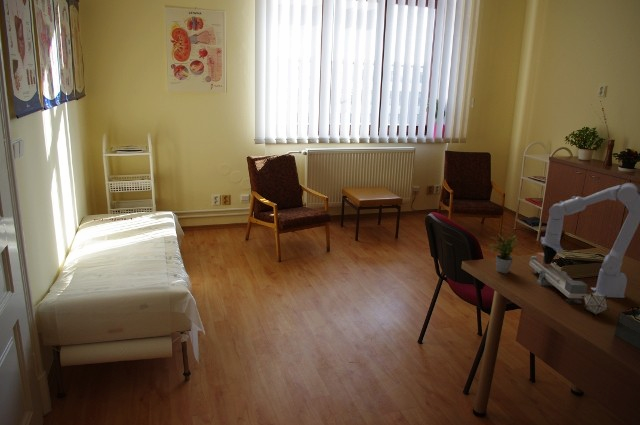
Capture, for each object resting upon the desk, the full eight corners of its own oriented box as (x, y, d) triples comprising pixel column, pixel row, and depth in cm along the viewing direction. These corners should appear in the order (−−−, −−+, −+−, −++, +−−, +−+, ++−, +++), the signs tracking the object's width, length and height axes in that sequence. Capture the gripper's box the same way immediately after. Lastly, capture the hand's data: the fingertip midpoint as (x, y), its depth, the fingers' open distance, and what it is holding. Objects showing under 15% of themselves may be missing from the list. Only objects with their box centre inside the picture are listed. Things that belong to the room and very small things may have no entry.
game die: (597, 323, 179) (621, 309, 173) (581, 317, 176) (604, 303, 170) (587, 302, 185) (609, 288, 179) (571, 296, 182) (593, 282, 176)
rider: (549, 266, 207) (551, 256, 206) (542, 266, 207) (543, 256, 206) (542, 263, 213) (544, 252, 212) (535, 262, 213) (536, 252, 212)
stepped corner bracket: (589, 304, 185) (592, 292, 184) (561, 304, 184) (563, 291, 183) (549, 272, 215) (551, 261, 213) (525, 271, 214) (526, 260, 213)
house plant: (493, 261, 225) (498, 226, 220) (524, 269, 216) (530, 234, 212) (480, 269, 214) (485, 233, 210) (511, 278, 206) (518, 241, 201)
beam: (587, 298, 184) (590, 285, 182) (567, 298, 183) (570, 285, 182) (545, 265, 215) (547, 254, 214) (528, 264, 215) (530, 253, 214)
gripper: (535, 226, 209) (530, 256, 213) (552, 238, 195) (546, 269, 199) (552, 227, 209) (546, 257, 213) (570, 238, 195) (563, 270, 199)
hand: (547, 263), depth 206 cm, fingers closed
